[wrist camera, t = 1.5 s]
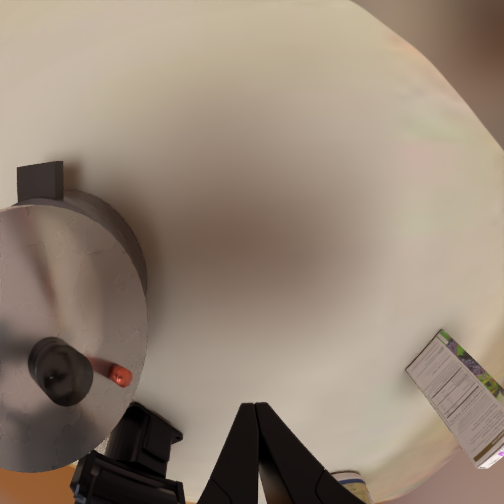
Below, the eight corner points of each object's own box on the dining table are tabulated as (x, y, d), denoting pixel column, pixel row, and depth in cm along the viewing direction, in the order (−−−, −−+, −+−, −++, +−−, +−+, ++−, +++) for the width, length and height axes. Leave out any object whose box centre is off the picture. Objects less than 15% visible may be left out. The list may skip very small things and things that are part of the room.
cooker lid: (125, 187, 13) (163, 188, 12) (149, 386, 17) (180, 402, 16) (-123, 248, 2) (-137, 264, 1) (9, 492, 6) (36, 527, 5)
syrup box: (458, 348, 25) (533, 424, 11) (423, 386, 26) (487, 471, 12) (441, 327, 24) (531, 414, 10) (402, 371, 25) (476, 472, 11)
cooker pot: (94, 371, 21) (78, 404, 17) (-8, 251, 17) (-39, 268, 13) (196, 293, 20) (189, 327, 16) (69, 140, 16) (34, 137, 12)
